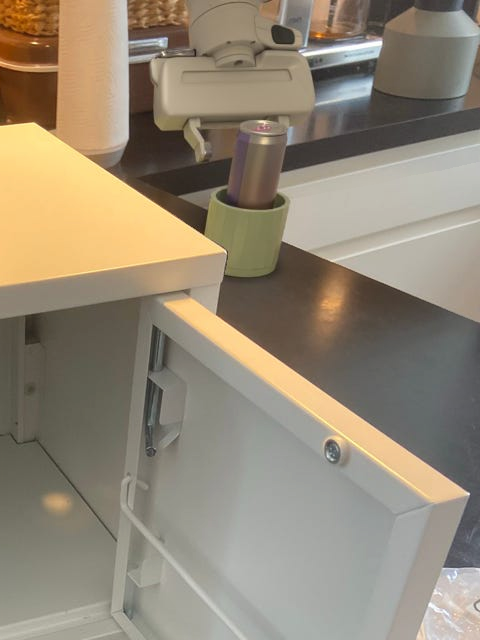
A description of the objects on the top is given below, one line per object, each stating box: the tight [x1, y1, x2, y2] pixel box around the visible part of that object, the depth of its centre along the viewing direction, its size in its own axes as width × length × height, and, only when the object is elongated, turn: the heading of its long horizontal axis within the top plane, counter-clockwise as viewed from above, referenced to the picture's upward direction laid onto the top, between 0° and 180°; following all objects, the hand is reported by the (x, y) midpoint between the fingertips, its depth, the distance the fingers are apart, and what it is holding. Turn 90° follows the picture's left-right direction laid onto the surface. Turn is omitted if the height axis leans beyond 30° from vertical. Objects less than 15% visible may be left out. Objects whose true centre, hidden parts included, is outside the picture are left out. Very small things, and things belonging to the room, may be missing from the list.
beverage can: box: [225, 120, 289, 210], centre depth 116 cm, size 6×6×15 cm
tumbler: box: [203, 185, 291, 278], centre depth 120 cm, size 10×10×8 cm
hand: (240, 158), depth 118 cm, fingers open, 8 cm apart
